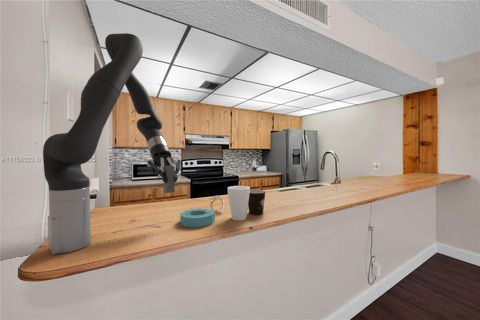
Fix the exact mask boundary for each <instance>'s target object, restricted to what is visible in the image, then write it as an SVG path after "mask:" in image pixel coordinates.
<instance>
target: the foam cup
mask: <svg viewBox="0 0 480 320" xmlns="http://www.w3.org/2000/svg"><path fill="white" fill-rule="evenodd" d="M250 190H251V187H250V186H247V185H233V186H232V185H231V186H228V187H227V194H228V203H229V209H230V215H231V216H230V217H231V219H232V220H234V221H244V220H246V219H247V216H248V210H249V208H248V201H249V194H250Z"/></svg>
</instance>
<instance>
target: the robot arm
mask: <svg viewBox="0 0 480 320" xmlns="http://www.w3.org/2000/svg"><path fill="white" fill-rule="evenodd" d="M104 45H105V50H106V52H107V54H108V57H109V59H110V60H111V61H109V62H108V63H107V64H105V65H103V66H102V67H101V68H99V69H98V70H96V71H95V72H94V73H93V74H91V76H90V77H89V79H88V81H87V82H86V84H85V86H84V87H83V89H82V91H81V95H80V111H79V113H78V114H79V115H78V117H77V119H76V121H75V122H74V124H73V125H72V127H71V128H70V129H69V131H67V132H63V133H56V134H53V135H51V136H49V137H47V139H46V140H45V142H44V143H43V144H44V145H43V147H42V148H43V149H42V159H43V172H44V179H45V181H46V182H47V185H48V211H49V213H48V216H47V240H48V250H49V251H50V252H49V253H51V255H52V256H53V255H58V254H66V253H71V252H75V251H78V250H82V249H83V248H85V247H87V246H89V245H90V244H91V242H92V241H91V240H92V237H91V236H92V234H91V197H90V196H91V193H90V192H91V191H90V189H91V188H90V186H91V185H90V183H91V182H90V179H89V177H88V176H87V175H85V174H84V172H83V170H82V165H83V164H86V163H87V162H89V161H90V160H91V159H92V158H93V157H94V154H95V153H96V150H97V148H98V144H99V141H100V139H101V135H102V133H103V130H104V127H105V125H106V123H107V121H108V120H109V117H110V115H111V113H112V110H113V109H114V108H115V105H116V103H117V102H118V100H119V98H120V95H121V93H122V90H123V89H124V86H125V88H126V89H127V92H128V94H129V96H130V100H131V101H132V104H133V107H134V109H135V112H136V113H137V114H138V115H148V116H147V117H143V118H140V119H138V120H137V121H136V128H137V130H138V131H139V132H140V133H141V135H142V136H143V137H144V138H145V141H146V142H147V147H148V151H149V153H150V158H151V159H152V160H150V159H149V160H147V163H146V167H147V169H149V170H150V171H151V172H152V173H153V174H154V175H155V176H160V178H161V181H162V183H164V182H165V183H167V182H168V177H167V175H166V173H165V170H164V166H174V183H176V182H177V181H178V180H179V176H178V174H179V172H180V169H181V162H182V161H181V159H176V160H175V159H174V157H173V156H172V153H171V150H170V148H169V145H168V144H167V141H166V140H165V138H164V135H163V133H162V131H161V130H162V127H163V124H162V120H161V119H160V118H159V116H158V115H157V113H156V111H155V109H154V107H153V105H152V102H151V98H150V95H149V93H148V91H147V88H145V86H144V85H143V84H142V83H141V82H140V80H139V79H138V78H137V77H136V76H135V74H134V73H133V71H134V69H135V68H136V67H137V66H138V64H139V62H140V61H141V59H142V56H143V52H144V47H143V43H142V41H141V39H140V38H139V37H138V36H137V35H135V34H132V33H127V32H126V33H125V32H123V33H109V34H108V35H107V36H106V37H105V41H104Z"/></svg>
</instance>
